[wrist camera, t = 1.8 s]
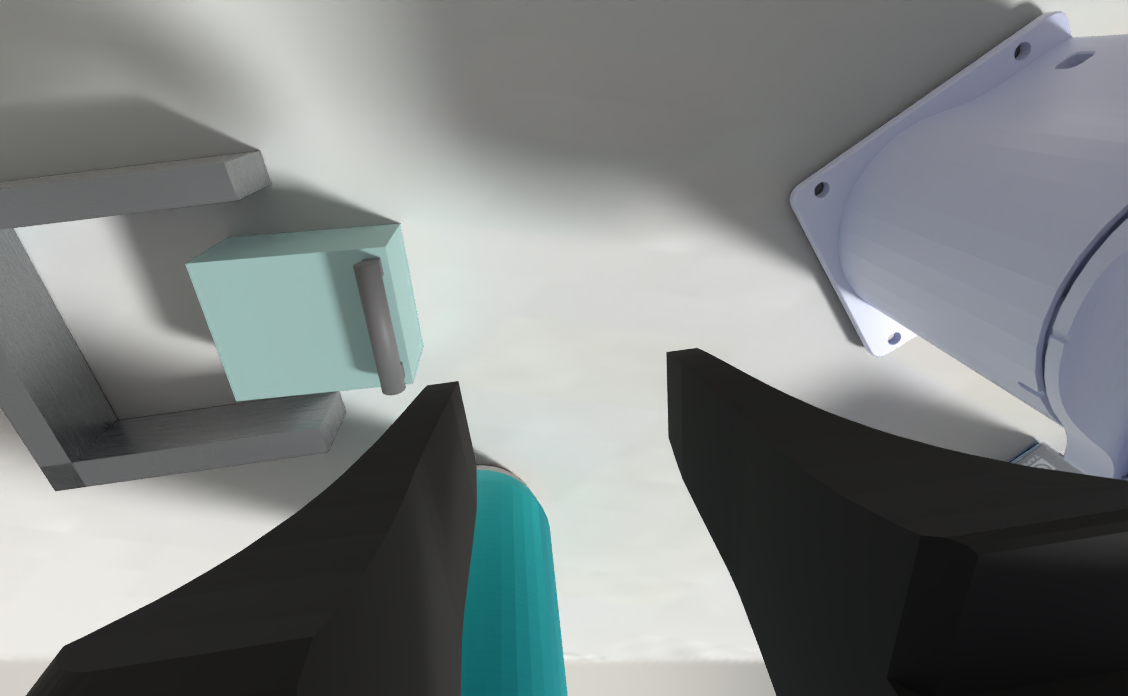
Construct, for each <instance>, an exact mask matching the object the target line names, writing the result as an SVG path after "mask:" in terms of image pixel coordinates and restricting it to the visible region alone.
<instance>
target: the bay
mask: <svg viewBox="0 0 1128 696" xmlns="http://www.w3.org/2000/svg"><path fill="white" fill-rule="evenodd" d="M270 184H271V182H270V179H269V176H268V173H267V170H266V167H265V164H264V161H263V158H262V155H261V152H260V151H253V152H245V153H236V154H228V155H220V156H211V157H203V158H195V159H186V160H178V161H170V162H161V163H153V164H145V165H136V166H128V167H119V168H111V169H103V170H94V171H86V172H78V173H69V174H61V175H53V176H44V177H36V178H28V179H19V180H11V181H2V182H0V407H1V408H2V410H3V411H4V413H5V415H6V416H7V418H8V419H9V421H10V422H11V424H12V425H13V427H14V428H15V430H16V431H17V433H18V435H19V436H20V438H21V439H22V441H23V442H24V444H25V445H26V447H27V448H28V450H29V451H30V453H31V455H32V456H33V458H34V459H35V461H36V462H37V464H38V465H39V467H40V468H41V470H42V471H43V473H44V475H45V476H46V478H47V479H48V481H49V482H50V484H51V485H52V487H53V488H54V490H55V491H60V490H67V489H74V488H81V487H88V486H95V485H102V484H109V483H116V482H123V481H130V480H137V479H144V478H151V477H158V476H165V475H172V474H179V473H186V472H193V471H200V470H207V469H214V468H221V467H228V466H235V465H242V464H249V463H256V462H263V461H270V460H277V459H284V458H291V457H298V456H305V455H312V454H319V453H326V452H328V451H329V449H330V447H331V444H332V442H333V440H334V438H335V436H336V433H337V431H338V429H339V427H340V425H341V423H342V420H343V418H344V416H345V414H346V411H345V408H344V405H343V402H342V399H341V396H340V392H339V391H334V392H324V393H314V394H306V395H298V396H291V397H284V398H277V399H270V400H262V401H255V402H248V403H241V404H233V405H226V406H219V407H212V408H205V409H197V410H190V411H183V412H176V413H168V414H161V415H154V416H147V417H140V418H132V419H125V420H118V419H117V418H116V416H115V414H114V412H113V410H112V408H111V407H110V405H109V403H108V401H107V399H106V398H105V396H104V394H103V392H102V390H101V388H100V387H99V385H98V383H97V381H96V379H95V377H94V376H93V374H92V372H91V370H90V368H89V366H88V365H87V363H86V361H85V359H84V357H83V355H82V354H81V352H80V350H79V348H78V346H77V344H76V343H75V341H74V339H73V337H72V335H71V334H70V332H69V330H68V328H67V326H66V324H65V323H64V321H63V319H62V317H61V315H60V313H59V312H58V310H57V308H56V306H55V304H54V302H53V301H52V299H51V297H50V295H49V293H48V291H47V290H46V288H45V286H44V284H43V282H42V280H41V279H40V277H39V275H38V273H37V271H36V270H35V268H34V266H33V264H32V262H31V260H30V259H29V257H28V255H27V253H26V251H25V249H24V248H23V246H22V244H21V242H20V240H19V238H18V237H17V235H16V233H15V231H14V229H13V228H18V227H26V226H34V225H42V224H50V223H58V222H67V221H75V220H83V219H91V218H99V217H107V216H115V215H123V214H131V213H140V212H148V211H156V210H164V209H172V208H180V207H188V206H196V205H205V204H213V203H221V202H229V201H237V200H240V199H242V198H244V197H246V196H248V195H250V194H252V193H254V192H256V191H258V190H260V189H262V188H264V187H266V186H268V185H270Z"/></svg>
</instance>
